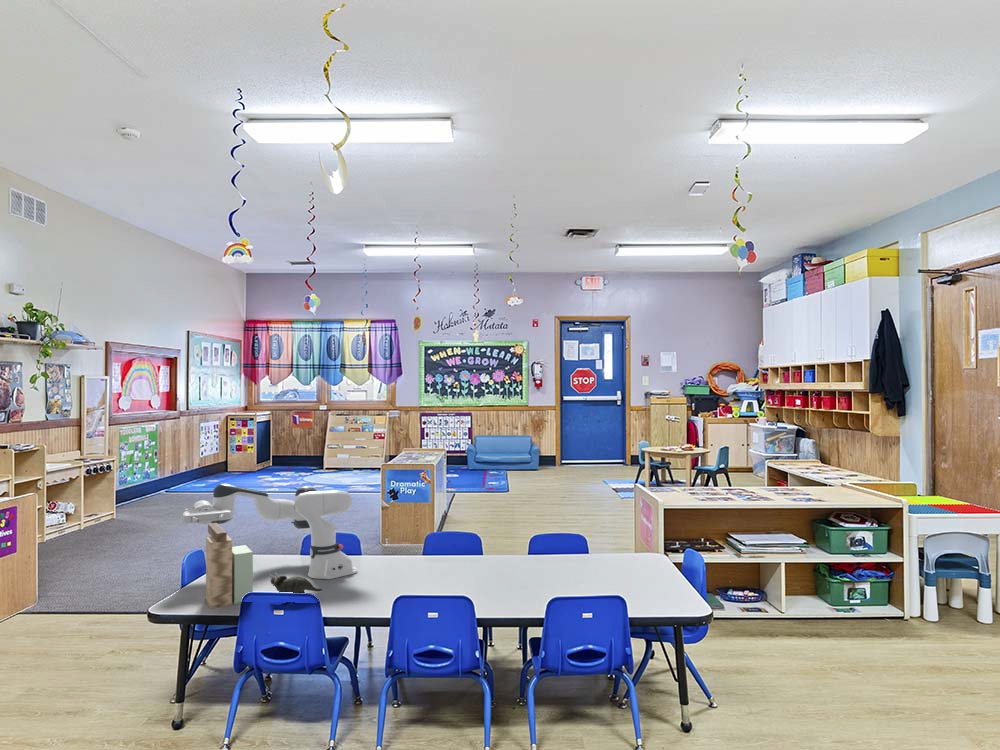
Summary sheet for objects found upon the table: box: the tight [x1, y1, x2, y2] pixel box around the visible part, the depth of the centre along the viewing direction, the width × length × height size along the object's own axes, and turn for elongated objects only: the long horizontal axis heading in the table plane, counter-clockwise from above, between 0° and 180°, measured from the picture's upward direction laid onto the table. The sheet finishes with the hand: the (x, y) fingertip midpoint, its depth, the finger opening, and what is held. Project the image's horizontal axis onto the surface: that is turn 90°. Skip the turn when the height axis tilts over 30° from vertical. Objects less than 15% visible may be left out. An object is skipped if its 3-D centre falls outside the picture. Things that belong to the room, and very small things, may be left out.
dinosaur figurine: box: [268, 571, 323, 594], centre depth 264 cm, size 22×8×11 cm, turn 90°
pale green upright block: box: [232, 544, 254, 605], centre depth 269 cm, size 7×14×20 cm, turn 33°
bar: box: [207, 523, 228, 542], centre depth 267 cm, size 4×22×4 cm, turn 33°
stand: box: [205, 534, 234, 610], centre depth 263 cm, size 8×11×26 cm
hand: (209, 519), depth 286 cm, fingers open, 8 cm apart
